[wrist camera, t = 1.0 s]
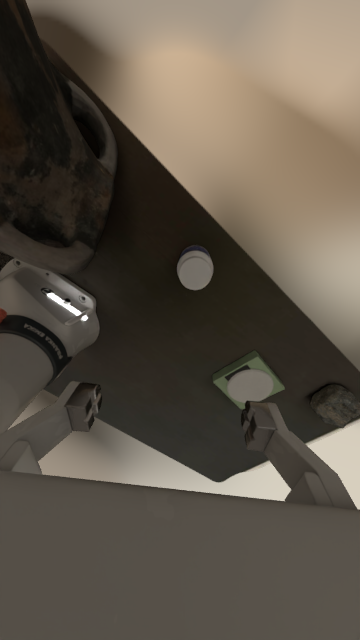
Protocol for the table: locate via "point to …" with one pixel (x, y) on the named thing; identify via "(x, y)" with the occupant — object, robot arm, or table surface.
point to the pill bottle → (195, 267)
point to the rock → (335, 405)
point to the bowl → (48, 155)
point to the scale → (247, 380)
